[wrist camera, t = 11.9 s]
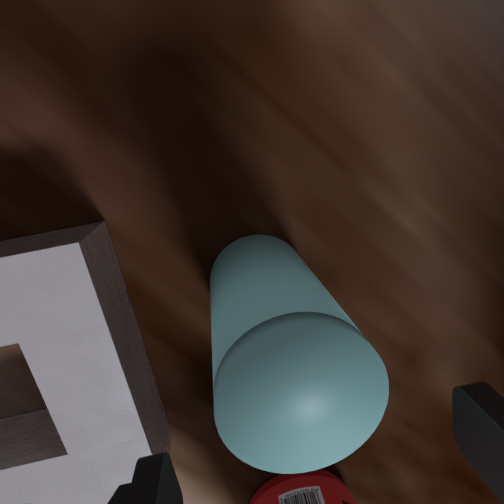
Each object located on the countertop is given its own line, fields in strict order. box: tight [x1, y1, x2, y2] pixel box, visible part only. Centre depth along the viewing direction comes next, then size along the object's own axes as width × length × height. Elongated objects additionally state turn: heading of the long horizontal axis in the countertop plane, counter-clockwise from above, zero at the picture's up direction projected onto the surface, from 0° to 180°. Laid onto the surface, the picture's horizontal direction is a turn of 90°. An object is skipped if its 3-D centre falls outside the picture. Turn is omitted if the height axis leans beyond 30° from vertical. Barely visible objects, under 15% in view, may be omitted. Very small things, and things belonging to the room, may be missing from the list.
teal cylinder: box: [210, 235, 389, 474], centre depth 15 cm, size 5×5×10 cm
